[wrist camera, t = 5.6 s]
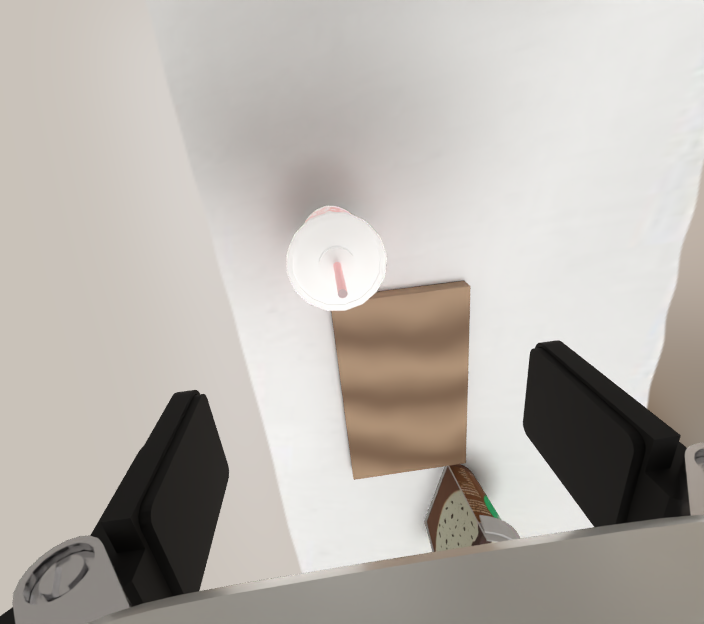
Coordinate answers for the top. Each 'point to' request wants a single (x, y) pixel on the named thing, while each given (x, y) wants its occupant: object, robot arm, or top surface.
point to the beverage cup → (336, 260)
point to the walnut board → (405, 378)
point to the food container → (463, 513)
